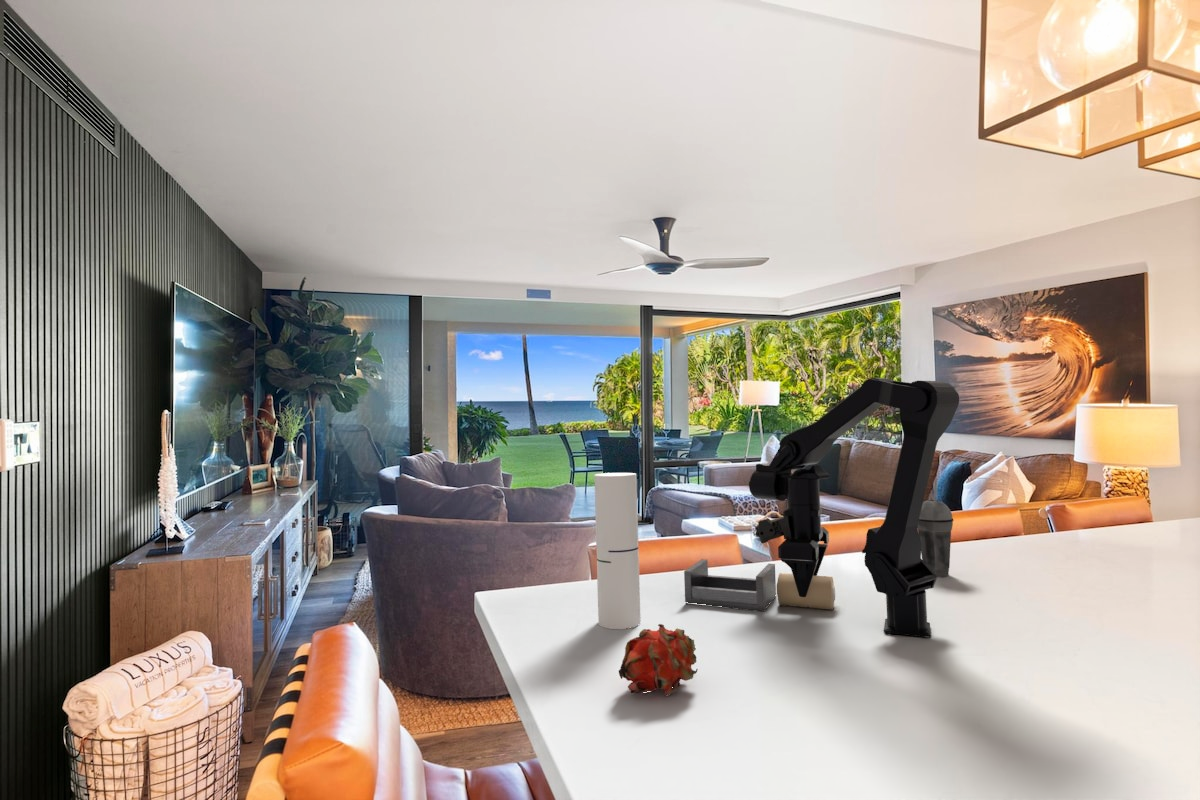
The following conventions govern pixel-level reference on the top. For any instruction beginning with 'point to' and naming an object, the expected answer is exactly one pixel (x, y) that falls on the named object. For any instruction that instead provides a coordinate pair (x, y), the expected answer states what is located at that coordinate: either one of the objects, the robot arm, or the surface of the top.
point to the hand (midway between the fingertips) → (806, 590)
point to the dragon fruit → (658, 660)
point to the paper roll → (817, 595)
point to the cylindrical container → (617, 550)
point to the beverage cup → (935, 535)
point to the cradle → (729, 588)
